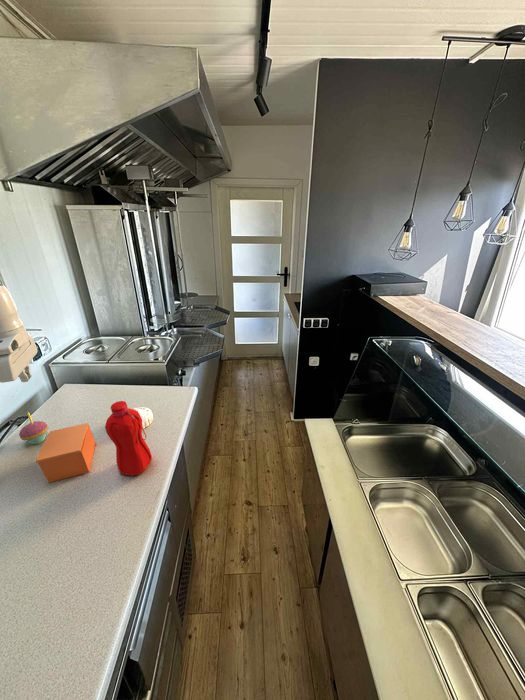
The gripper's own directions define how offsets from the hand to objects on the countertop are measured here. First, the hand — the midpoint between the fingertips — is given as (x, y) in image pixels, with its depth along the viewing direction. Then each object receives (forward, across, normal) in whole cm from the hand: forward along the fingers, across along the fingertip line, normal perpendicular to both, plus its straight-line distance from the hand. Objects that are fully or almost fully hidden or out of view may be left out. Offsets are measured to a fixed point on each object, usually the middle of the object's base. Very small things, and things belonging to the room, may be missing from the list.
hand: (27, 379), depth 87 cm
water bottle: (+31, +15, +26) cm, 43 cm away
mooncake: (+31, -9, +25) cm, 41 cm away
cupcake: (+31, -12, -10) cm, 35 cm away
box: (+31, +5, +5) cm, 32 cm away
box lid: (+22, +5, +5) cm, 23 cm away
